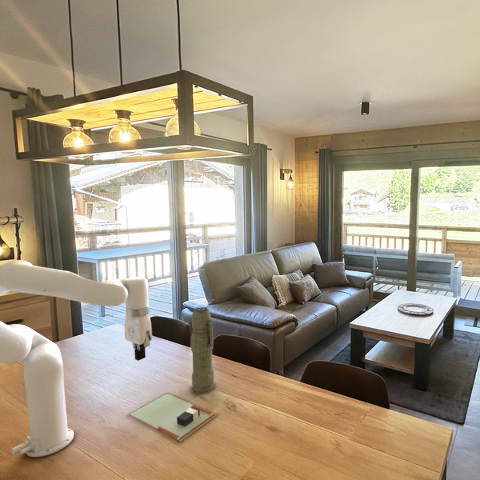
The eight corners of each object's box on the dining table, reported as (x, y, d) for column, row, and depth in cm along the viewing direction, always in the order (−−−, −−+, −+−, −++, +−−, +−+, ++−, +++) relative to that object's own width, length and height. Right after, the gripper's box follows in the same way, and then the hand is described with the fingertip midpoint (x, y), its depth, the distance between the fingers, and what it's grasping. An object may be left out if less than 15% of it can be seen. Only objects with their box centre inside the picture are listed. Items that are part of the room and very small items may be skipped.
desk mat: (180, 441, 115) (180, 439, 115) (129, 415, 129) (129, 413, 129) (216, 415, 129) (216, 414, 129) (167, 394, 143) (167, 392, 143)
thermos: (198, 380, 154) (196, 304, 150) (221, 385, 150) (219, 307, 146) (184, 390, 146) (181, 310, 141) (208, 396, 142) (206, 314, 137)
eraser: (185, 427, 122) (185, 420, 122) (176, 423, 124) (176, 417, 123) (200, 415, 128) (199, 409, 128) (191, 412, 130) (191, 406, 130)
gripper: (115, 310, 127) (118, 358, 129) (140, 317, 120) (143, 367, 122) (135, 305, 133) (137, 350, 136) (160, 311, 126) (162, 359, 128)
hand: (140, 358), depth 129 cm, fingers closed
